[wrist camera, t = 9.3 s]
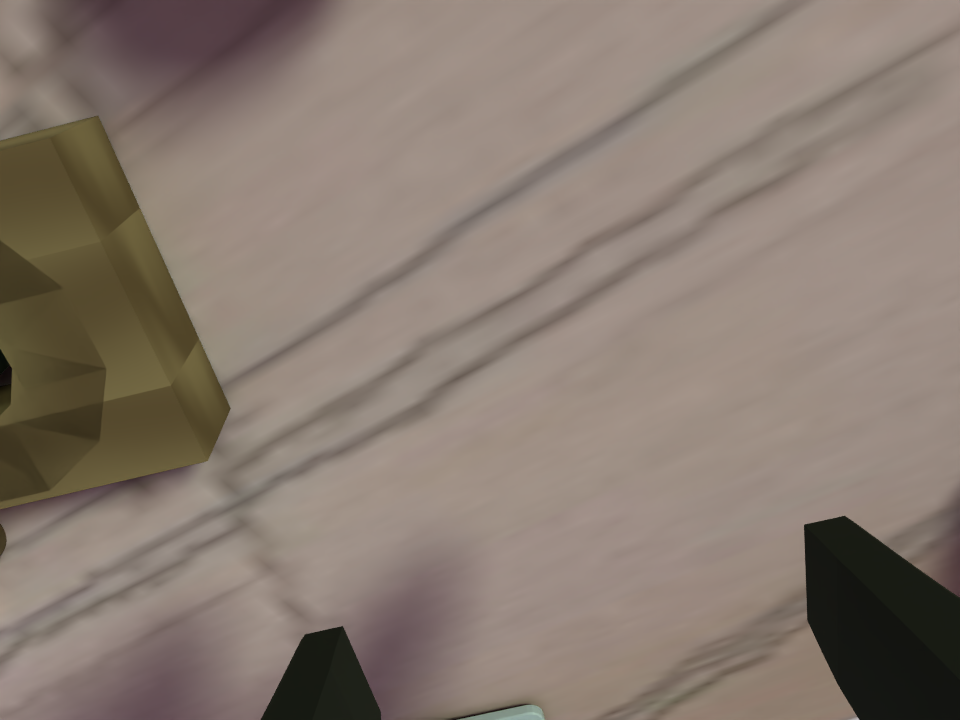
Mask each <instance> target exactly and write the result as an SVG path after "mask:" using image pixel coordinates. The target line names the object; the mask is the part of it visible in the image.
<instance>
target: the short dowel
mask: <svg viewBox="0 0 960 720" xmlns="http://www.w3.org/2000/svg"><path fill="white" fill-rule="evenodd" d="M5 546H6V534H5V531H4V529H3V527H2V526H1V524H0V555H1V554H2V553H3V551H4V549H5Z"/></svg>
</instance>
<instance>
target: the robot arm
mask: <svg viewBox="0 0 960 720" xmlns="http://www.w3.org/2000/svg"><path fill="white" fill-rule="evenodd" d="M804 536H805V564H806V592H807V620H808V623H809V625H810V627H811V629H812V631H813V633H814V636H815V638H816V640H817V642H818V644H819V646H820V648H821V651H822V653H823V655H824V657H825V659H826V661H827V663H828V665H829V667H830V669H831V671H832V673H833V675H834V677H835V679H836V682H837V684H838V685H839V687H840V689H841V690H842V692H843V694H844V695H845V697H846V699H847V700H848V702H849V704H850V705H851V707H852V708H853V710H854V712H855V713H856V715H857V717H858V718H859V720H960V598H959V597H958V596H956V595H955V594H953V593H952V592H950V591H949V590H948V589H946V588H945V587H943V586H942V585H940V584H939V583H937V582H936V581H935V580H933V579H932V578H930V577H929V576H927V575H926V574H925V573H923V572H922V571H920V570H919V569H918V568H916V567H915V566H913V565H912V564H911V563H909V562H908V561H906V560H905V559H904V558H902V557H901V556H900V555H898V554H897V553H895V552H894V551H893V550H891V549H890V548H889V547H887V546H886V545H884V544H883V543H882V542H880V541H879V540H878V539H876V538H875V537H874V536H872V535H871V534H869V533H868V532H867V531H865V530H864V529H863V528H861V527H860V526H859V525H857V524H856V523H854V522H853V521H852V520H850V519H849V518H847V517H845V516H842V517H837V518H833V519H828V520H824V521H819V522H815V523H810V524H805V525H804ZM261 720H381V712H380V709H379V707H378V705H377V702H376V700H375V698H374V696H373V693H372V691H371V689H370V687H369V684H368V682H367V680H366V677H365V675H364V673H363V671H362V668H361V666H360V664H359V662H358V659H357V657H356V655H355V652H354V650H353V648H352V646H351V643H350V641H349V639H348V637H347V634H346V632H345V630H344V628H343V626H341V627H337V628H332V629H328V630H323V631H319V632H314V633H310V634H305V636H304V637H303V639H302V640H301V642H300V644H299V646H298V647H297V649H296V651H295V653H294V655H293V657H292V659H291V661H290V663H289V665H288V667H287V669H286V671H285V673H284V675H283V677H282V679H281V681H280V683H279V685H278V687H277V689H276V691H275V693H274V695H273V697H272V699H271V701H270V703H269V705H268V707H267V709H266V711H265V713H264V714H263V716H262V718H261ZM458 720H545V718H544V714H543V711H542V710H541V708H539V707H538V706H536V705H524V706H519V707H514V708H510V709H505V710H500V711H496V712H491V713H486V714H481V715H477V716H472V717H467V718H463V719H458Z"/></svg>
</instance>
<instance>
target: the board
mask: <svg viewBox="0 0 960 720" xmlns="http://www.w3.org/2000/svg"><path fill="white" fill-rule="evenodd" d="M0 349H1V351H2V352H3V354H4V356H5V358H6V359H7V361H8V363H9V364H10V366H11V368H12V384H9V385H5V386H0V509H4V508H8V507H12V506H17V505H21V504H25V503H29V502H34V501H38V500H42V499H47V498H51V497H55V496H60V495H64V494H68V493H72V492H77V491H81V490H85V489H90V488H94V487H98V486H103V485H107V484H111V483H115V482H120V481H124V480H128V479H133V478H137V477H141V476H146V475H150V474H154V473H158V472H163V471H167V470H171V469H176V468H180V467H184V466H189V465H193V464H197V463H202V462H206V461H208V459H209V457H210V454H211V452H212V450H213V448H214V445H215V443H216V441H217V438H218V436H219V434H220V432H221V429H222V427H223V425H224V422H225V420H226V418H227V416H228V413H229V411H230V406H229V404H228V402H227V400H226V398H225V395H224V393H223V391H222V389H221V386H220V384H219V382H218V380H217V378H216V375H215V373H214V371H213V369H212V367H211V364H210V362H209V360H208V358H207V356H206V353H205V351H204V349H203V347H202V345H201V342H200V340H199V338H198V336H197V333H196V331H195V329H194V327H193V325H192V322H191V320H190V318H189V316H188V314H187V311H186V309H185V307H184V305H183V303H182V300H181V298H180V296H179V294H178V292H177V289H176V287H175V285H174V283H173V280H172V278H171V276H170V274H169V272H168V269H167V267H166V265H165V263H164V261H163V258H162V256H161V254H160V252H159V250H158V247H157V245H156V243H155V241H154V238H153V236H152V234H151V232H150V230H149V227H148V225H147V223H146V221H145V219H144V216H143V214H142V212H141V210H140V208H139V205H138V203H137V201H136V199H135V197H134V194H133V192H132V190H131V188H130V185H129V183H128V181H127V179H126V177H125V174H124V172H123V170H122V168H121V166H120V163H119V161H118V159H117V157H116V155H115V152H114V150H113V148H112V146H111V144H110V141H109V139H108V137H107V135H106V132H105V130H104V128H103V126H102V124H101V121H100V119H99V117H98V116H95V117H91V118H87V119H83V120H80V121H76V122H72V123H68V124H64V125H60V126H56V127H52V128H48V129H44V130H41V131H37V132H33V133H29V134H25V135H21V136H17V137H13V138H9V139H5V140H2V141H0Z"/></svg>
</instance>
